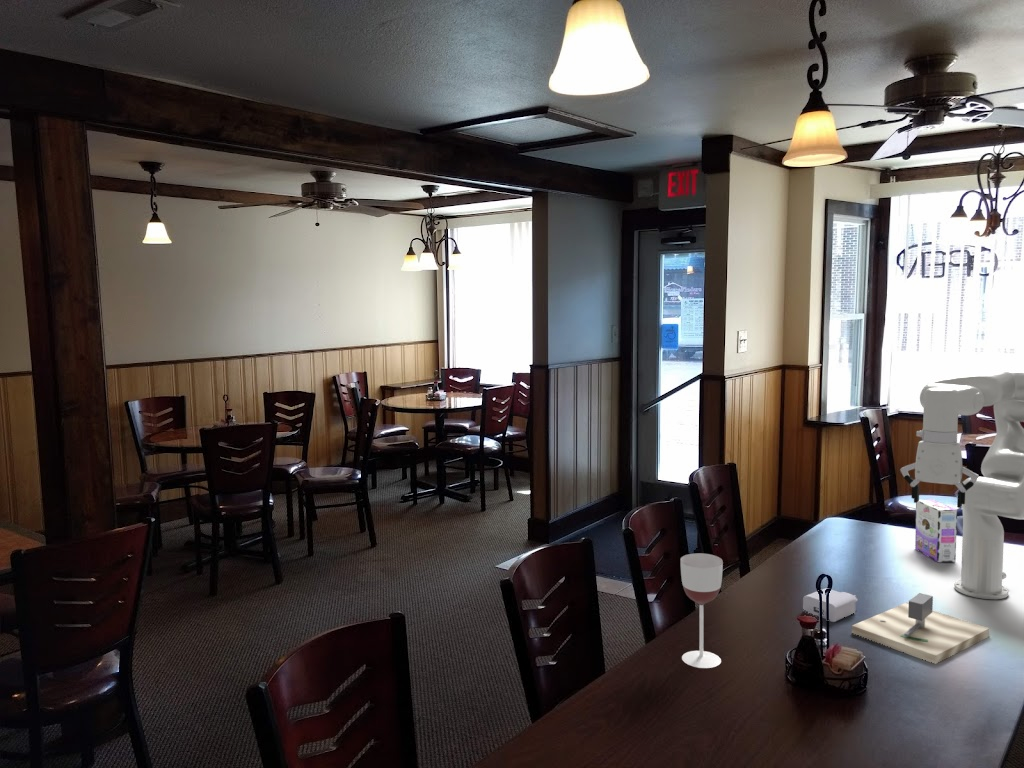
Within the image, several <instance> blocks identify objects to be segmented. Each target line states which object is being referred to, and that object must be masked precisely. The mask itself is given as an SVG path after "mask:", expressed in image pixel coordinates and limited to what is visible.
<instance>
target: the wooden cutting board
mask: <svg viewBox="0 0 1024 768" xmlns="http://www.w3.org/2000/svg"><path fill="white" fill-rule="evenodd" d="M908 611H909V602H905V603H902V604H899V605H898V606H895V607H893V608H891V609H887V610H886V611H885V610H884V612H880V613H879V614H875V615H874V616H872V617H869V618H867V619H864V620H862V621H860V622H857V623H855V624H852V625H851V634H852V633H854V634H853V635H855V634H856V635H855V636H857V635H859V636H858V637H860V636H862V637H861V638H863V637H864V638H863V639H865V638H867V639H866V640H868V639H869V640H868V641H871V640H872V641H871V642H874V641H875V642H874V643H876V642H877V644H879V643H881V644H880V645H882V644H883V645H882V646H884V645H885V647H887V646H888V647H887V648H890V647H891V648H890V649H894V650H896V651H899V652H902V653H903V652H904V654H907V655H909V656H911V657H914V658H917V659H920V660H922V659H923V661H925V660H926V662H928V663H931V662H932V663H931V664H933V663H935V664H934V665H937V664H939V663H941V662H943V661H945V660H947V659H948V657H949V658H951V657H952V655H953V656H954V655H956V654H958V653H960V652H962V651H964V650H966V649H968V648H970V647H972V646H973V645H975V644H977V643H979V642H981V641H983V640H985V639H987V638H989V637H990V627H986V626H984V625H980V624H977V623H974V622H970V621H968V620H965V619H961V618H958V617H954V616H951V615H948V614H945V613H941V612H938V611H935V610H932V613H931V614H930V615H928V616H927V617H926V618H925V627H924V628H918V629H917V630H916V631H915V632H913V633H912V634H911V635H910V636H909V637H906V636H904V633H906V632H907V631H908V630H909V629H910V628H912V627H913V626H914V625H915V622H916V619H913V618H909V617H908ZM950 656H951V657H950ZM946 658H947V659H946ZM944 659H945V660H944ZM942 660H943V661H942ZM940 661H941V662H940ZM938 662H939V663H938ZM936 663H937V664H936Z"/></svg>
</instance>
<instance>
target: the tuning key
mask: <svg viewBox="0 0 1024 768" xmlns="http://www.w3.org/2000/svg"><path fill="white" fill-rule="evenodd" d="M933 599H934V596H933V595H931V594H930V595H929V594H926V593H921V592H919V593H917V594H915V595H914V597H912V598H911V599H909V600H908V603H909V611H908V617H909V618H913V619H916V622H915V625H914V626H913V627H912V628H910V629H909V630H908V631H907V632H906V633H904V636H906V637H909V636H910V635H911V634H912V633H913V632H915V631H916V630H917V629H918V628H924V627H925V618H926V617H927V616H928V615H930V614H931V613H932V611H933V609H934V607H933V605H934V604H933V603H934V602H933V601H934V600H933Z"/></svg>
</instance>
